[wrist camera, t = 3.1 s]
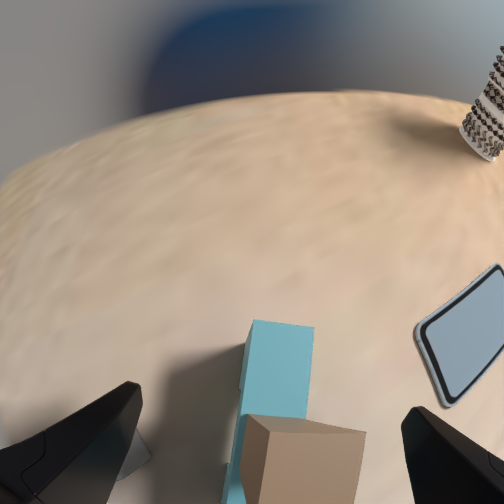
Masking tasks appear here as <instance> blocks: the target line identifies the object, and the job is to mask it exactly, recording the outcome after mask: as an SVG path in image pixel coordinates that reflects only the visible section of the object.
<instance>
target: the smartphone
mask: <svg viewBox="0 0 504 504" xmlns="http://www.w3.org/2000/svg"><path fill="white" fill-rule="evenodd" d="M415 337H416V340H417V343H418V345H419V347H420V350H421V352H422V353H423V355H424V358H425V361H426V364H427V366H428V368H429V370H430V372H431V375H432V378H433V381H434V383H435V385H436V387H437V390H438V394H439V395H440V396H439V397H440V400H441V402H442V404H443V405H444V406H446V407H452V406H455V405H456V404H457V403H458V402H459V401H460V400H461V399H462V398H463V397H464V396H465V395H466V394H467V393H468V392H469V391H470V390H471V389H472V388H473V387H474V386H475V385H476V384H477V382H478V381H479V380H480V379H481V378H482V377H483V376H484V375H485V373H486V372H487V371H488V370H489V369H490V367H491V366H492V365H493V364H494V363H495V361H496V360H497V359H498V358H499V356H500V355H501V354H502V352H503V351H504V270H503V268H502V266H501V265H500V264H499V263H495V264H493V265H492V266H491V267H490V268H489V269H488V270H486V271H485V272H484V273H482V274H481V275H480V276H479V277H478V278H477V279H475V280H474V281H473V282H472V283H471V284H470V285H469V286H468V287H466V288H465V289H464V290H463V291H461V292H460V293H459V294H458V295H456V296H455V297H454V298H452V299H451V300H450V301H449V302H447V303H446V304H445V305H443V306H442V307H441V308H439V309H438V310H436V311H435V312H434V313H432V314H431V315H429V316H428V317H427V318H425V319H424V320H422V321H421V322H420V323H419V324H418V325H417V327H416V330H415Z"/></svg>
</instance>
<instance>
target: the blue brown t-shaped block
mask: <svg viewBox="0 0 504 504" xmlns="http://www.w3.org/2000/svg"><path fill="white" fill-rule="evenodd" d="M313 336H314V327H307V326H299V325H291V324H283V323H275V322H268V321H261V320H255V319H254V321H253V324H252V326H251V329H250V331H249V334H248V337H247V339H246V342H245V348H244V355H243V362H242V369H241V375H240V382H239V389H241V393H240V400H239V407H238V414H237V420H236V427H235V434H234V440H233V447H232V453H231V460H230V463H227V468H226V474H225V481H224V487H223V494H222V500H221V504H354V499H355V495H356V490H357V485H358V480H359V475H360V469H361V463H362V457H363V450H364V443H365V436H366V432H363V431H357V430H352V429H346V428H341V427H336V426H331V425H327V424H322V423H318V422H314V421H310V420H306V411H307V402H308V393H309V384H310V373H311V362H312V350H313Z"/></svg>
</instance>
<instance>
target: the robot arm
mask: <svg viewBox="0 0 504 504" xmlns="http://www.w3.org/2000/svg"><path fill="white" fill-rule="evenodd" d="M142 405H143V400H142V392H141V386H140V384H138V383H134V382H131V381H126V382H125V383H123V384H121V385H120V386H118V387H117V388H115V389H113V390H112V391H110V392H108V393H107V394H105V395H103V396H102V397H100V398H99V399H97V400H95V401H94V402H92V403H90V404H89V405H87V406H85V407H83V408H82V409H80V410H78V411H77V412H75V413H73V414H72V415H70V416H68V417H66V418H65V419H63V420H61V421H59V422H58V423H56V424H54V425H52V426H51V427H49V428H47V429H45V431H44V430H43V431H41V432H40V433H38V434H36V435H34V436H32V437H30V438H28V439H26V440H24V441H22V442H19V443H17V444H14V445H12V446H9V447H7V448H4V449H1V450H0V504H106V503H107V500H108V498H109V496H110V493H111V491H112V488H113V486H114V484H115V481H116V479H117V477H118V474H119V472H120V470H121V467H122V465H123V463H124V460H125V458H126V456H127V454H128V451H129V449H130V446H131V443H132V440H133V436H134V433H135V429H136V426H137V423H138V419H139V416H140V413H141V409H142ZM401 431H402V437H403V444H404V452H405V459H406V464H407V469H408V473H409V477H410V482H411V487H412V491H413V496H414V502H415V504H504V461H503V460H501V459H500V458H498V457H496V456H495V455H493V454H492V453H490V452H489V451H487V450H486V449H484V448H483V447H481V446H480V445H478V444H477V443H475V442H474V441H472V440H471V439H469V438H468V437H466V436H465V435H463V434H462V433H460V432H459V431H458V430H456V429H455V428H453V427H452V426H450V425H449V424H447V423H446V422H445V421H443V420H442V419H440V418H439V417H437V416H436V415H435V414H433V413H432V412H430V411H429V410H427V409H426V408H425V407H423V406H418V407H413V408H412V409H411V410H410V411H409V413H408V414H407V416H406V417H405V419H404V420H403V422H402V424H401Z"/></svg>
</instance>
